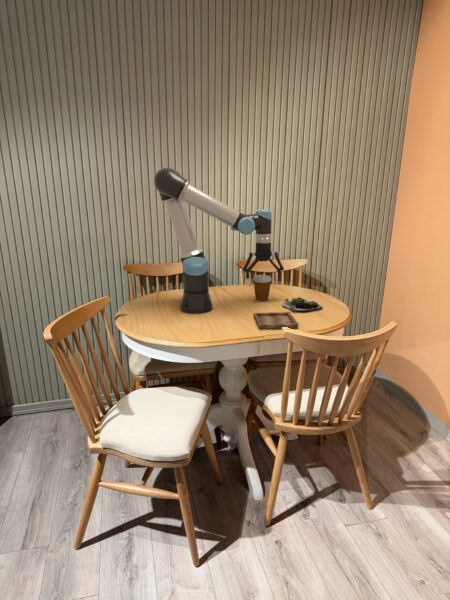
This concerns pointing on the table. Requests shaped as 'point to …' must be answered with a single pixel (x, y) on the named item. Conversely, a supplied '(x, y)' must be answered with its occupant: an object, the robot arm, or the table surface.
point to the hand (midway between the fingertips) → (263, 284)
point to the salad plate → (302, 305)
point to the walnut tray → (275, 320)
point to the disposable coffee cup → (262, 287)
